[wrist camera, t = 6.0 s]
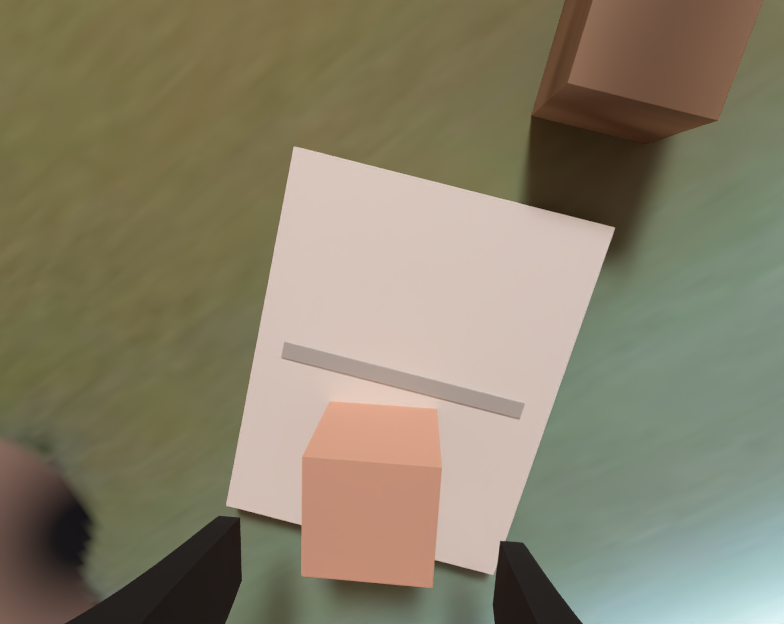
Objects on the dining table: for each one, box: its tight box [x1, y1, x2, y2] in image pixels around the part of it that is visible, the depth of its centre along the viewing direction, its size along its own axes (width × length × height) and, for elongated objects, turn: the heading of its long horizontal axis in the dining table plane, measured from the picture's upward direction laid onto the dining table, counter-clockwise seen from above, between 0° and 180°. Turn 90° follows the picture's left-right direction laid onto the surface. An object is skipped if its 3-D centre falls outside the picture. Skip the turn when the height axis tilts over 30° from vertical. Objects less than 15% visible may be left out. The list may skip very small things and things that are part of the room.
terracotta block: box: [301, 401, 442, 588], centre depth 15 cm, size 4×4×4 cm
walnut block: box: [531, 0, 763, 144], centre depth 13 cm, size 4×4×4 cm
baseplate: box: [226, 146, 615, 575], centre depth 17 cm, size 11×14×1 cm
